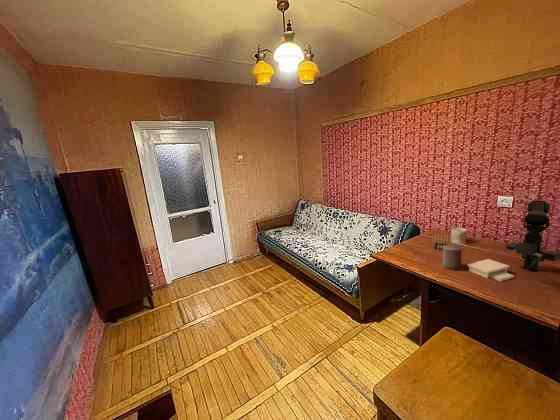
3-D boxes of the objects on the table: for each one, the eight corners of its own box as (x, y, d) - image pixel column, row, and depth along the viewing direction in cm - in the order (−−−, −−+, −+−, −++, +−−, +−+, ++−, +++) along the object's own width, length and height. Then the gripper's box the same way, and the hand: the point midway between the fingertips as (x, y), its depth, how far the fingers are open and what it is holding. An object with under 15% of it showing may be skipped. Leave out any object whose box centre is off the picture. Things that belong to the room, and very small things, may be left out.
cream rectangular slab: (487, 265, 145) (488, 258, 144) (508, 272, 134) (509, 265, 134) (467, 270, 141) (467, 264, 140) (487, 278, 131) (487, 271, 130)
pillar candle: (464, 269, 143) (466, 246, 141) (451, 271, 142) (452, 248, 139) (451, 263, 153) (452, 241, 150) (438, 265, 151) (439, 243, 149)
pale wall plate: (486, 268, 143) (486, 265, 142) (513, 278, 129) (513, 275, 129) (473, 271, 140) (474, 268, 140) (500, 282, 127) (500, 279, 126)
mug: (447, 240, 190) (447, 228, 188) (460, 239, 191) (461, 226, 189) (458, 245, 179) (458, 231, 177) (471, 243, 181) (472, 229, 178)
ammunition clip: (451, 250, 172) (452, 235, 169) (451, 251, 170) (452, 235, 168) (434, 248, 178) (434, 233, 175) (434, 249, 176) (434, 234, 174)
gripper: (500, 235, 122) (497, 262, 125) (547, 246, 104) (543, 277, 107) (515, 232, 124) (512, 258, 127) (564, 242, 106) (559, 273, 109)
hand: (529, 266), depth 117 cm, fingers closed
